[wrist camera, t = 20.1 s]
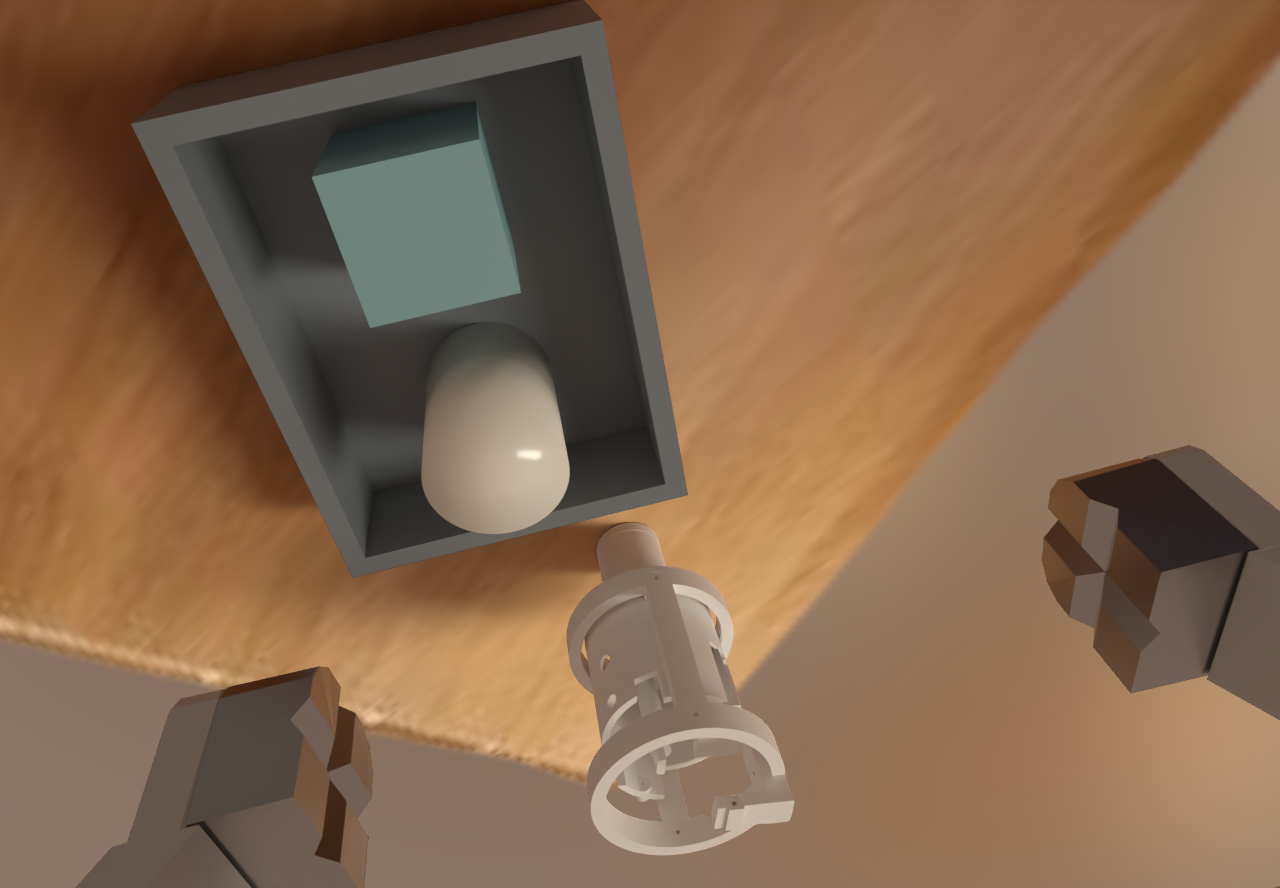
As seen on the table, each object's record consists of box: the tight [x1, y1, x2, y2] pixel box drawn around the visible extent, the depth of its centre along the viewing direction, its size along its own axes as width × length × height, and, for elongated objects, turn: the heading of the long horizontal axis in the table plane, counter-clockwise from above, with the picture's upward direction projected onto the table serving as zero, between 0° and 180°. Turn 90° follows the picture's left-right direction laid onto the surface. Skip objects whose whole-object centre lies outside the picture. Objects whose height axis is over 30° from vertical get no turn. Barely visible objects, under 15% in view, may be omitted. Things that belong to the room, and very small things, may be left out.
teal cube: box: [312, 102, 521, 328], centre depth 29 cm, size 5×5×5 cm
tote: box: [131, 0, 688, 578], centre depth 32 cm, size 18×14×5 cm
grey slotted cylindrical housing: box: [567, 523, 794, 855], centre depth 37 cm, size 7×7×15 cm
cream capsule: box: [421, 322, 570, 534], centre depth 33 cm, size 5×5×7 cm
